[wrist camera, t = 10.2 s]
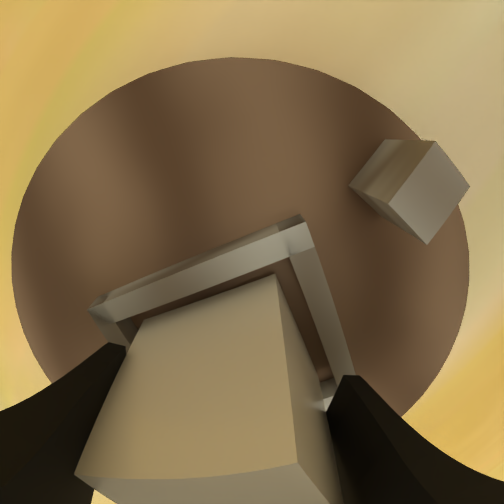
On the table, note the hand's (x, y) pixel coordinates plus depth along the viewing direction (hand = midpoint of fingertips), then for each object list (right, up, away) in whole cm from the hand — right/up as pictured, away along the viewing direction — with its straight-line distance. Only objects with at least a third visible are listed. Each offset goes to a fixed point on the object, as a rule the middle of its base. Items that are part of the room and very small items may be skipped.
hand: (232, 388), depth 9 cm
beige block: (-1, 0, +2) cm, 2 cm away
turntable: (0, +1, +4) cm, 4 cm away
